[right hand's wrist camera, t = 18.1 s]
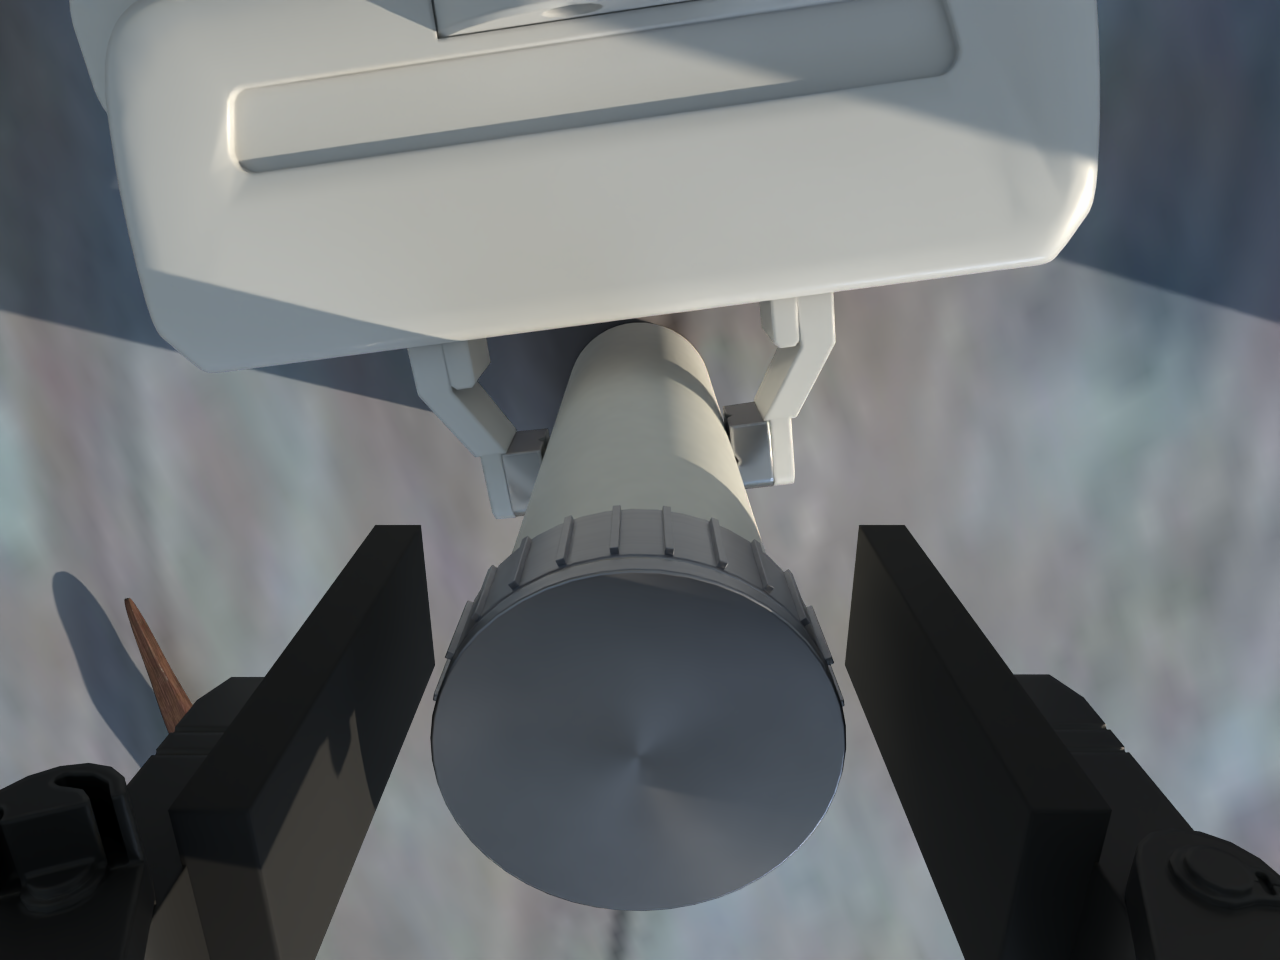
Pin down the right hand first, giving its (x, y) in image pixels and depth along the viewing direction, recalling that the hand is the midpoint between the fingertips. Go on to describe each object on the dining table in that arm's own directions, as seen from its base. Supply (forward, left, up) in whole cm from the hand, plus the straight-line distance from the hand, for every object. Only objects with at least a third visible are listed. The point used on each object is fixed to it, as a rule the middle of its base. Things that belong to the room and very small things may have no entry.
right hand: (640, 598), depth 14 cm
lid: (0, 0, +4) cm, 4 cm away
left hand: (0, -1, -7) cm, 7 cm away
